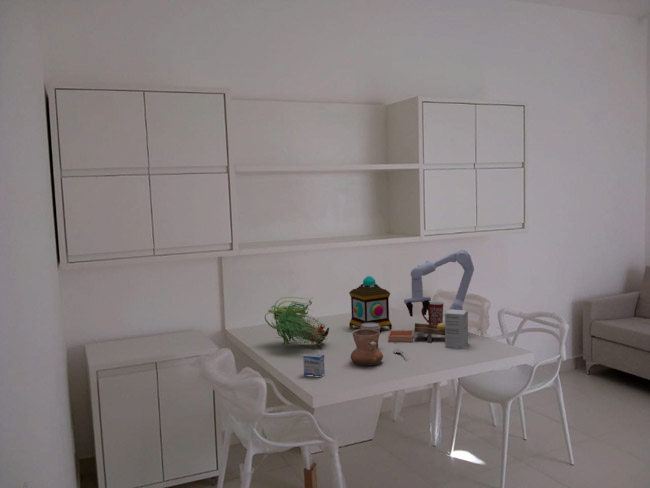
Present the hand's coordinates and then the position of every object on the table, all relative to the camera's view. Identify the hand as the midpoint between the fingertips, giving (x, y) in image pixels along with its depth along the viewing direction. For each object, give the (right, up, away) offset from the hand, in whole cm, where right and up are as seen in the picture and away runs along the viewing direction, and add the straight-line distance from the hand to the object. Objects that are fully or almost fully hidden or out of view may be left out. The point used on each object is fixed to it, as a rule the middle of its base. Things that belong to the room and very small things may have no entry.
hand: (417, 315), depth 299 cm
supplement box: (+15, -12, -26) cm, 32 cm away
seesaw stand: (+4, -11, -13) cm, 17 cm away
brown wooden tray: (+4, -7, -11) cm, 13 cm away
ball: (+9, -4, -15) cm, 18 cm away
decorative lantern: (-24, -10, +12) cm, 29 cm away
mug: (+10, -8, +13) cm, 19 cm away
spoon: (-13, -14, -41) cm, 46 cm away
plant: (-61, -14, -22) cm, 66 cm away
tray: (-10, -11, -10) cm, 18 cm away
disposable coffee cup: (-27, -13, -27) cm, 40 cm away
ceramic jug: (-31, -15, -48) cm, 59 cm away
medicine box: (-54, -17, -63) cm, 85 cm away
